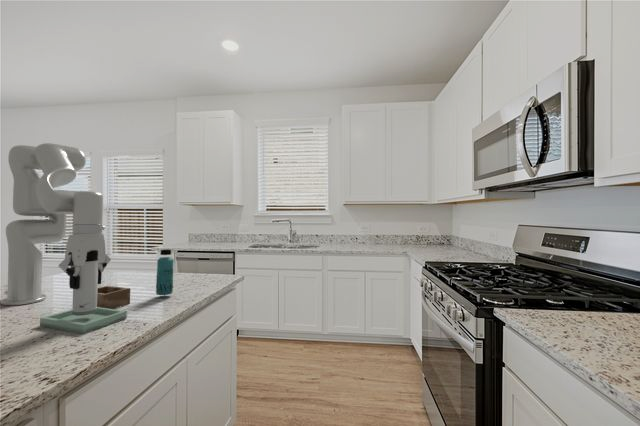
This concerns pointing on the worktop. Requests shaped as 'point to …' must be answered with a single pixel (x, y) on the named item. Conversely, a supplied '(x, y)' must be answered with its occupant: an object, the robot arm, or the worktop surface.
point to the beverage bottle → (164, 274)
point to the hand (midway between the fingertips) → (85, 285)
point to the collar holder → (112, 297)
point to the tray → (83, 320)
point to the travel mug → (87, 287)
